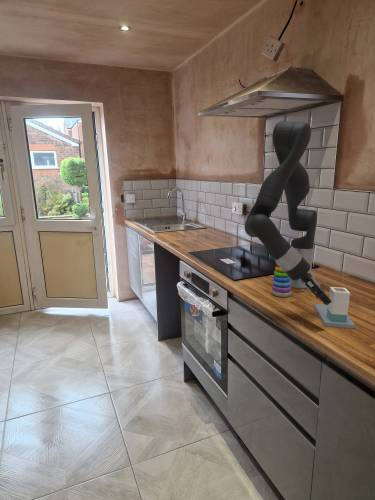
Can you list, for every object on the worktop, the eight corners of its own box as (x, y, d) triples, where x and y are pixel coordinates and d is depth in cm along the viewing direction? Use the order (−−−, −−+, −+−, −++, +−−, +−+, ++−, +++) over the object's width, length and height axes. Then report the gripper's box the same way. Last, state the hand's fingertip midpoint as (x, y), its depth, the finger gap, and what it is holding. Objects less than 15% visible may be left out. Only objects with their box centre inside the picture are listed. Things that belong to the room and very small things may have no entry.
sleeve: (326, 314, 109) (330, 286, 107) (341, 316, 108) (345, 287, 106) (330, 321, 105) (334, 292, 102) (346, 322, 104) (350, 292, 102)
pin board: (313, 306, 119) (315, 290, 118) (339, 308, 118) (341, 292, 116) (324, 326, 104) (326, 308, 102) (354, 328, 102) (357, 310, 101)
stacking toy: (287, 290, 135) (290, 247, 131) (294, 297, 127) (298, 251, 123) (268, 290, 135) (271, 247, 131) (274, 298, 127) (277, 251, 123)
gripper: (305, 260, 97) (341, 299, 98) (297, 250, 111) (328, 284, 111) (286, 276, 99) (321, 314, 100) (280, 264, 112) (311, 297, 113)
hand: (325, 298), depth 106 cm, fingers open, 8 cm apart
